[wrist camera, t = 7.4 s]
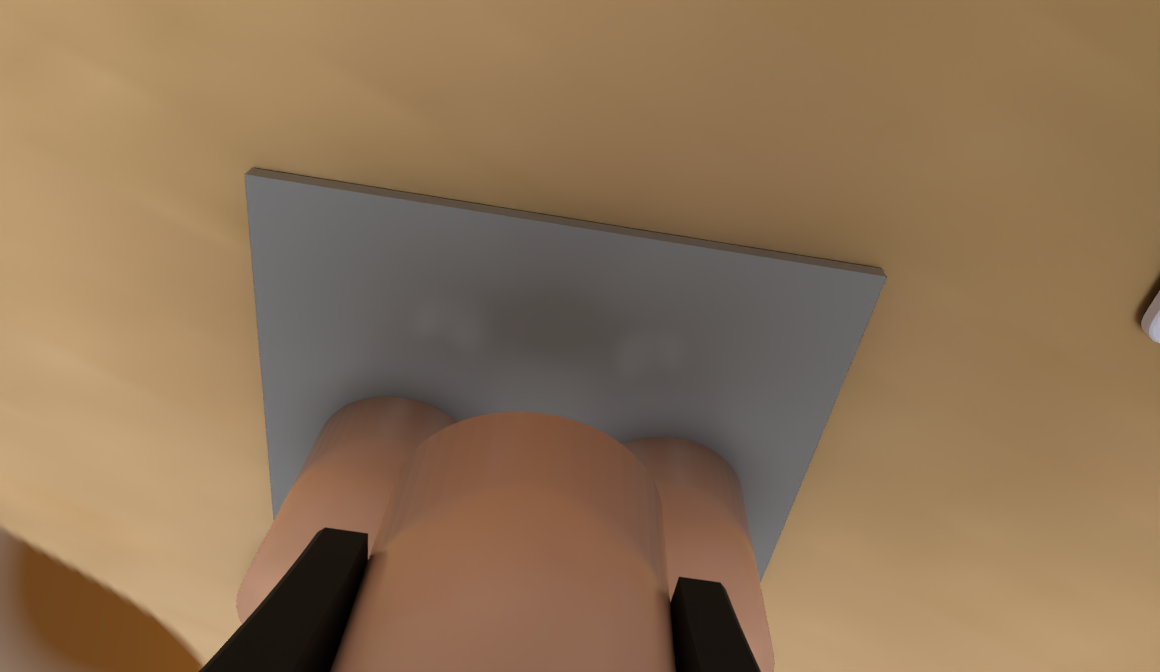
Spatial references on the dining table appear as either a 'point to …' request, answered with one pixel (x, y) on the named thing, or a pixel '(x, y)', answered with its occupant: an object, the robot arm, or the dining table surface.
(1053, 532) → the dining table surface
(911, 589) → the dining table surface
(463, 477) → the rounded peach cylinder
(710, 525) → the salmon capsule cylinder
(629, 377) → the slate board
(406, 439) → the peach domed cylinder
